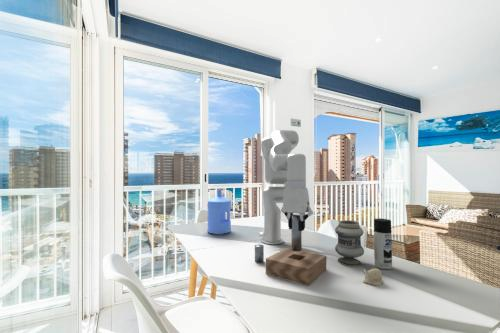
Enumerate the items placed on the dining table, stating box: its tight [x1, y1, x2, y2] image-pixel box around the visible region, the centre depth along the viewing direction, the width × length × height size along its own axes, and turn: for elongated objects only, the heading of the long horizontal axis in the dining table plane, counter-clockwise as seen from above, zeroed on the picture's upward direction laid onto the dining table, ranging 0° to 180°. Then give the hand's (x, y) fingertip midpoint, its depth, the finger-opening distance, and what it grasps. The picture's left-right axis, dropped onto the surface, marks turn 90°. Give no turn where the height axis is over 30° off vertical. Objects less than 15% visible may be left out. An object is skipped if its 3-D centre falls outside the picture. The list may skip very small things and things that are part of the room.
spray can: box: [373, 218, 393, 270], centre depth 109 cm, size 7×7×20 cm
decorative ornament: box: [363, 268, 384, 286], centre depth 93 cm, size 4×8×5 cm, turn 104°
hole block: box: [265, 247, 327, 287], centre depth 103 cm, size 18×18×6 cm
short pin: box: [254, 244, 265, 264], centre depth 115 cm, size 4×4×7 cm
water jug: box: [206, 189, 232, 235], centre depth 171 cm, size 16×16×28 cm
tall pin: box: [290, 213, 303, 252], centre depth 103 cm, size 4×4×14 cm
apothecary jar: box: [334, 219, 365, 267], centre depth 114 cm, size 12×12×18 cm
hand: (296, 229), depth 103 cm, fingers closed on tall pin, 4 cm apart
